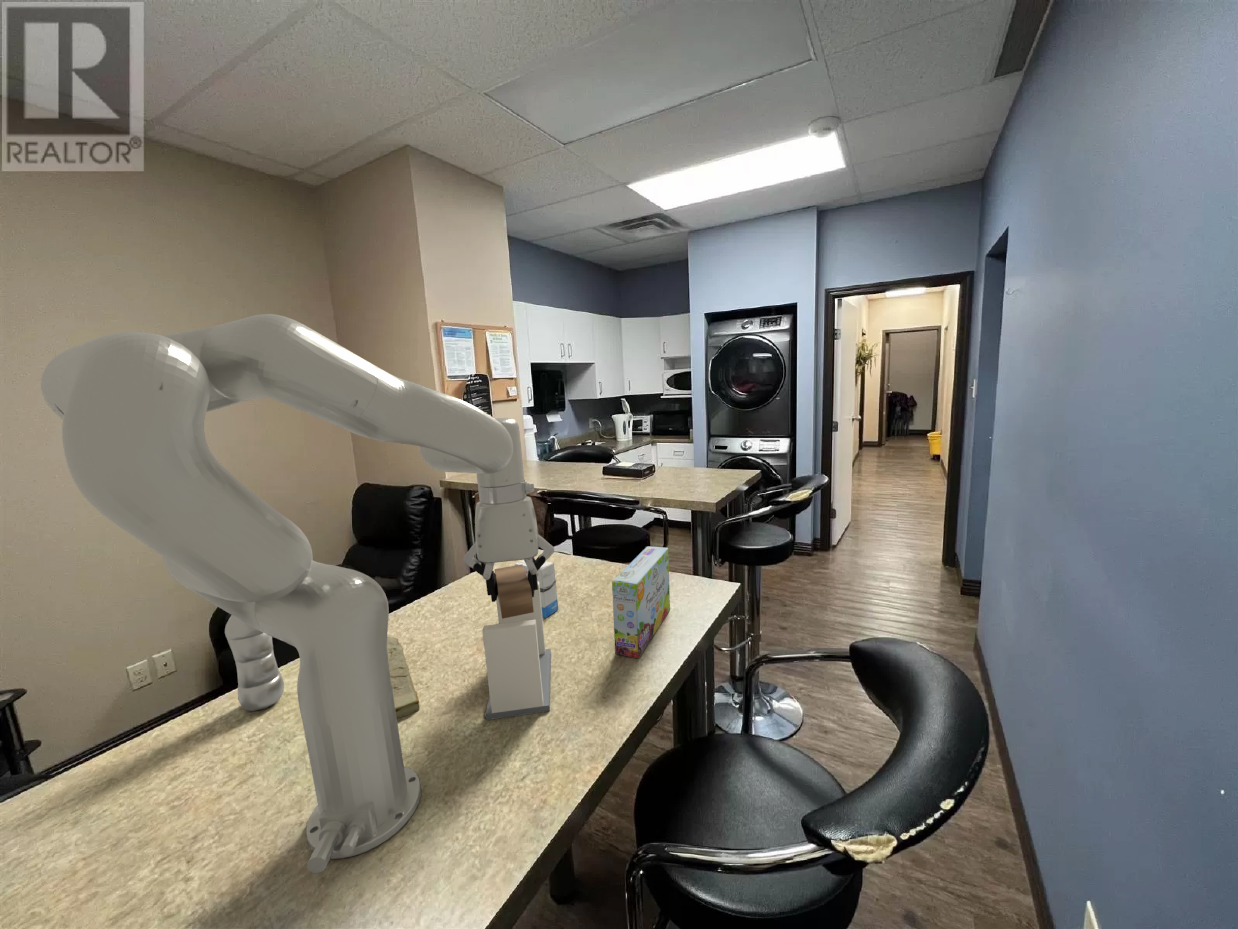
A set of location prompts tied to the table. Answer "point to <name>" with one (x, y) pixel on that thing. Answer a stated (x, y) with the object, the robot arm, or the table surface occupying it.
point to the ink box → (545, 587)
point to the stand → (517, 664)
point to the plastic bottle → (254, 665)
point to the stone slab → (401, 680)
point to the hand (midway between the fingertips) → (513, 595)
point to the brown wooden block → (513, 591)
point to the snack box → (640, 600)
